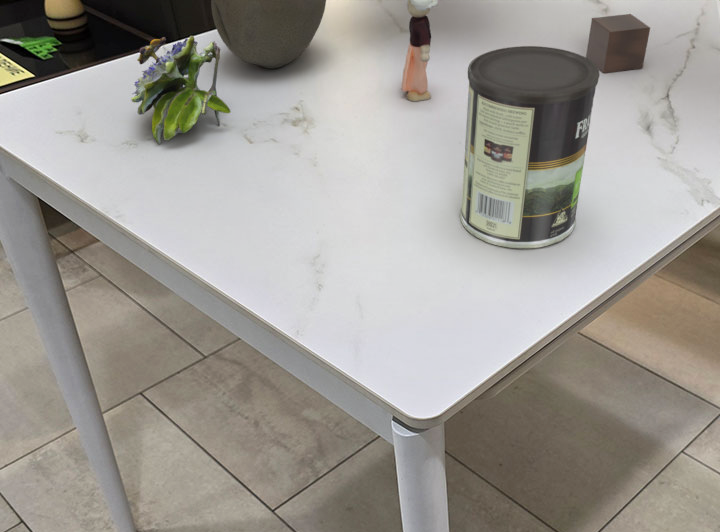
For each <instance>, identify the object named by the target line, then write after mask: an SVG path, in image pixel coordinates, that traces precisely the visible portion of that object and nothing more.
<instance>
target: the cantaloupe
mask: <svg viewBox="0 0 720 532" xmlns="http://www.w3.org/2000/svg"><path fill="white" fill-rule="evenodd" d="M210 3H211V4H210V6H211V7H210V9H211V15H212V19H213V23H214V26H215V28H216V31H217V33H218V35H219V37H220V39H221V40H222V42H223V44H224V45H225V46H226V48H227V50H229V51H230V52H231V53H232V54H233V55H234V57H236V58H238V60H241V61H244V62H246V63H249V64H253V65H256V66H258V67H261V68H264V69H277V68H278V69H279V68H282V67H283V66H286V65H287V64H290V63H291V62H293V61H294V60H296V59H297V58H299V56H301V55H302V54H303V53H304V52H305V51H306V50H307V48H309V46H310V44H311V43H312V41H313V39H314V37H315V36H316V33H317V32H318V29H319V28H320V25H321V23H322V20H323V17H324V14H325V9H326V5H327V0H210Z"/></svg>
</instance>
